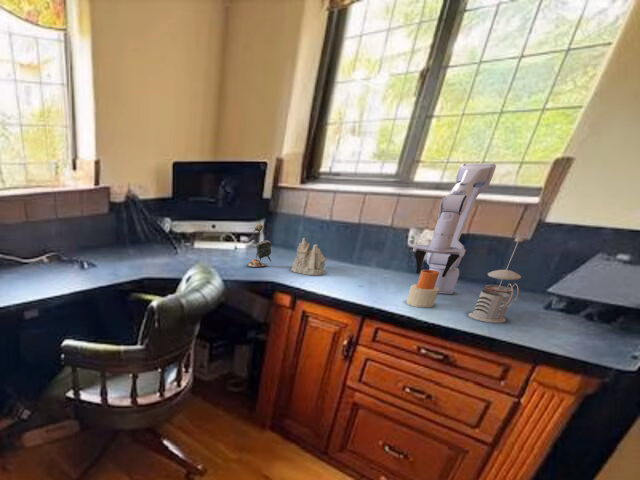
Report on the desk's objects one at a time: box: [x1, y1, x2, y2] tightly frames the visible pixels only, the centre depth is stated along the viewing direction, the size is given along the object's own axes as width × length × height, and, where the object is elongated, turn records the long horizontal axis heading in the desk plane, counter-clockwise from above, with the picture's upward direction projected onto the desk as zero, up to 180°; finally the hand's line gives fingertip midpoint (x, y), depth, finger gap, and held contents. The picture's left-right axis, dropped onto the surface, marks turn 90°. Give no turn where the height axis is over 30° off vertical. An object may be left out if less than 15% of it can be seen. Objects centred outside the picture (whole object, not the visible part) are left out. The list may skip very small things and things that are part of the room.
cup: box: [416, 269, 439, 289], centre depth 145 cm, size 5×5×6 cm
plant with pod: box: [247, 222, 272, 268], centre depth 198 cm, size 8×11×20 cm
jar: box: [405, 283, 439, 308], centre depth 148 cm, size 8×8×6 cm
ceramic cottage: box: [290, 237, 327, 276], centre depth 190 cm, size 16×16×15 cm
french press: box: [467, 236, 524, 324], centre depth 129 cm, size 10×12×25 cm
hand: (430, 274), depth 146 cm, fingers open, 7 cm apart
